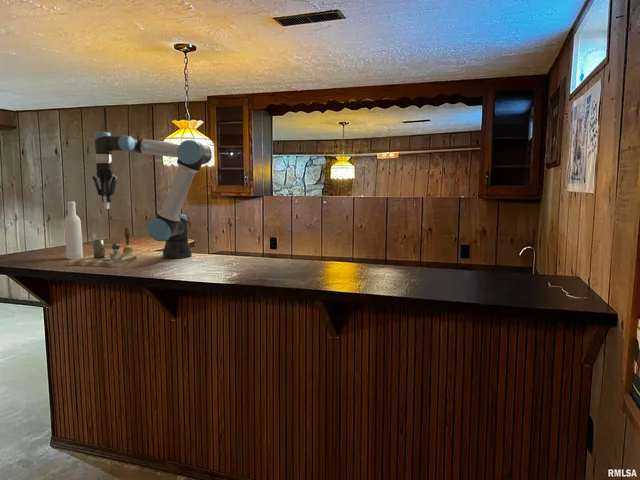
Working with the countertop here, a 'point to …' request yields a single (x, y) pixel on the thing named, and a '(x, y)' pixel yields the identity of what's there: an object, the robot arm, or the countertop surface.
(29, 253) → the countertop surface
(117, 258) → the stand
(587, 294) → the countertop surface
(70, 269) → the countertop surface
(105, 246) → the metal mallet
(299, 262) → the countertop surface
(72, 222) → the bottle
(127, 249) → the hand bell
